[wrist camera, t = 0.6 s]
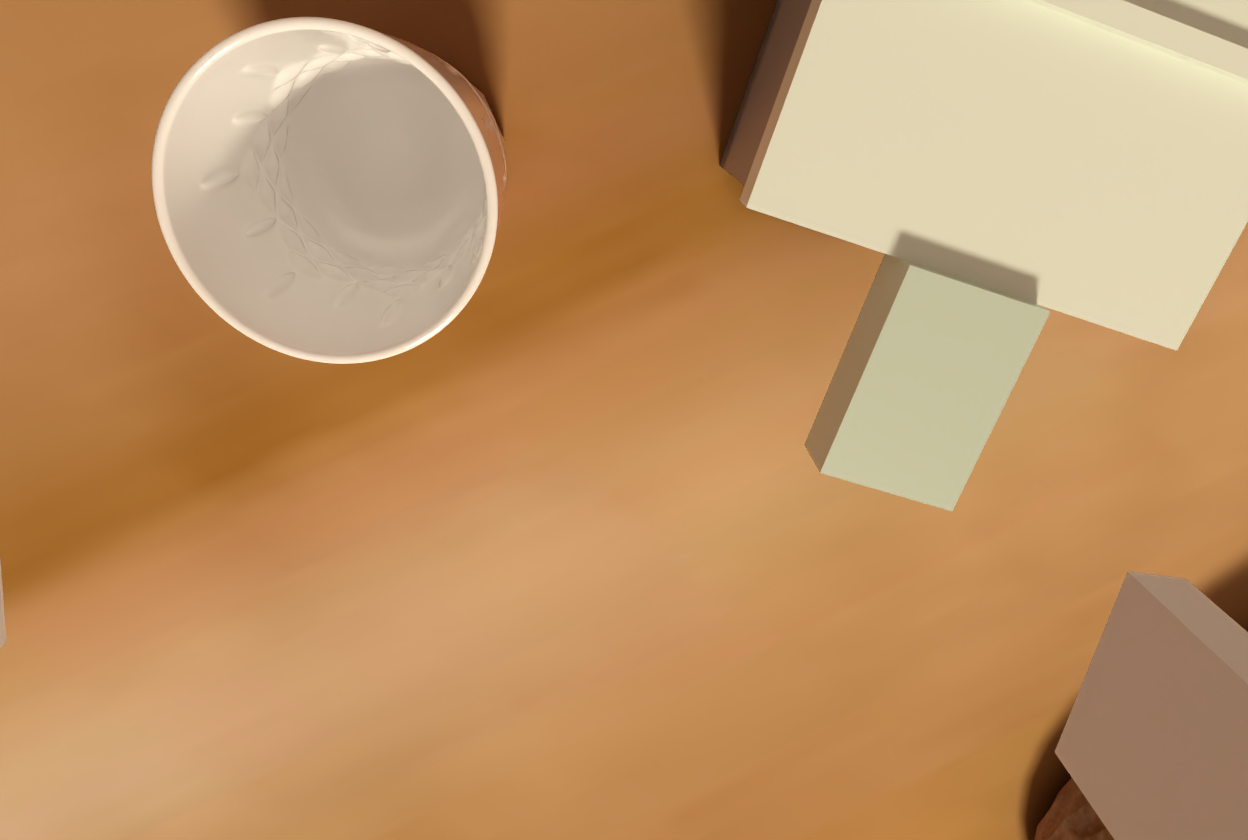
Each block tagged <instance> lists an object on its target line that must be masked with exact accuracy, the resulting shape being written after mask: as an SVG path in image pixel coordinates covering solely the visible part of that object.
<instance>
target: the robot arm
mask: <svg viewBox="0 0 1248 840" xmlns="http://www.w3.org/2000/svg"><path fill="white" fill-rule="evenodd" d="M5 643H6V629H5V616H4V602H3V589H2V576H1V563H0V648H1V647H2V646H3V645H4V644H5ZM1055 754H1056V755H1057V757H1058V758H1059V759H1060V761H1061V762H1062V764H1063V765H1064V767H1065V768H1066V770H1067V771H1068V773H1069V774H1070V776H1071V777H1072V778H1073V780H1074V781H1075V783H1076V784H1077V786H1078V787H1079V789H1080V790H1081V792H1082V793H1083V795H1084V796H1085V797H1086V799H1087V800H1088V802H1089V803H1090V805H1091V806H1092V808H1093V809H1094V811H1095V812H1096V814H1097V815H1098V816H1099V818H1100V819H1101V821H1102V822H1103V824H1104V825H1105V827H1106V828H1107V830H1108V831H1109V833H1110V834H1111V835H1112V837H1113V838H1114V840H1248V632H1247V631H1246V630H1245V629H1244V628H1242V627H1241V626H1240V625H1239V624H1238V623H1237V622H1235V621H1234V620H1233V619H1232V618H1231V617H1230V616H1228V615H1227V614H1226V613H1225V612H1224V611H1223V610H1222V609H1220V608H1219V607H1218V606H1217V605H1216V604H1215V603H1213V602H1212V601H1211V600H1210V599H1209V598H1208V597H1207V596H1205V595H1204V594H1203V593H1202V592H1201V591H1200V590H1198V589H1197V588H1196V587H1195V586H1194V585H1193V584H1191V583H1190V582H1189V581H1188V580H1187V579H1184V578H1177V577H1169V576H1161V575H1153V574H1145V573H1138V572H1130V571H1128V572H1127V575H1126V577H1125V580H1124V582H1123V584H1122V587H1121V589H1120V592H1119V594H1118V597H1117V599H1116V602H1115V604H1114V607H1113V609H1112V612H1111V614H1110V616H1109V619H1108V621H1107V624H1106V626H1105V629H1104V631H1103V634H1102V636H1101V639H1100V641H1099V644H1098V646H1097V649H1096V651H1095V653H1094V656H1093V658H1092V661H1091V663H1090V666H1089V668H1088V671H1087V673H1086V676H1085V678H1084V681H1083V683H1082V685H1081V688H1080V690H1079V693H1078V695H1077V698H1076V700H1075V703H1074V705H1073V708H1072V710H1071V713H1070V715H1069V717H1068V720H1067V722H1066V725H1065V727H1064V730H1063V732H1062V735H1061V737H1060V740H1059V742H1058V745H1057V747H1056V749H1055Z"/></svg>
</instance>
